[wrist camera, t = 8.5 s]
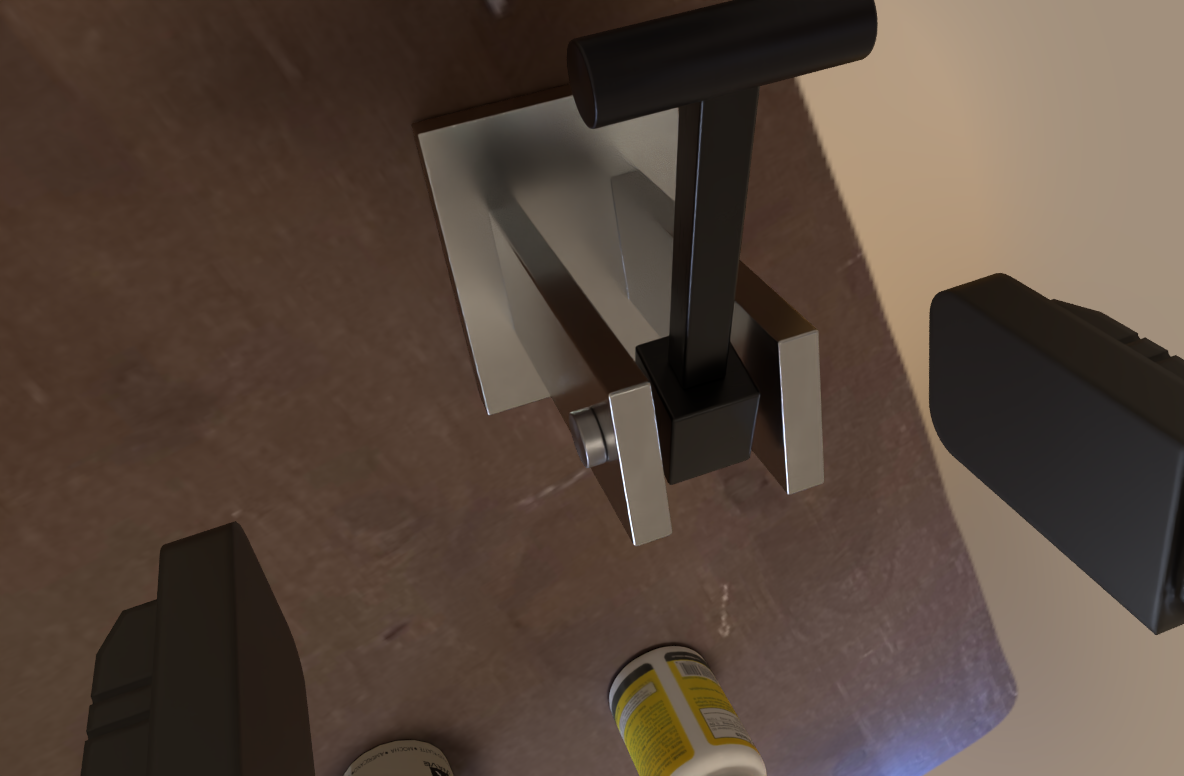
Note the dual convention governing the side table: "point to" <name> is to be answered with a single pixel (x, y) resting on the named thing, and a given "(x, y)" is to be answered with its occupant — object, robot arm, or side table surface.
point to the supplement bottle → (680, 718)
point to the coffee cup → (401, 761)
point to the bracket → (597, 289)
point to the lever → (709, 185)
